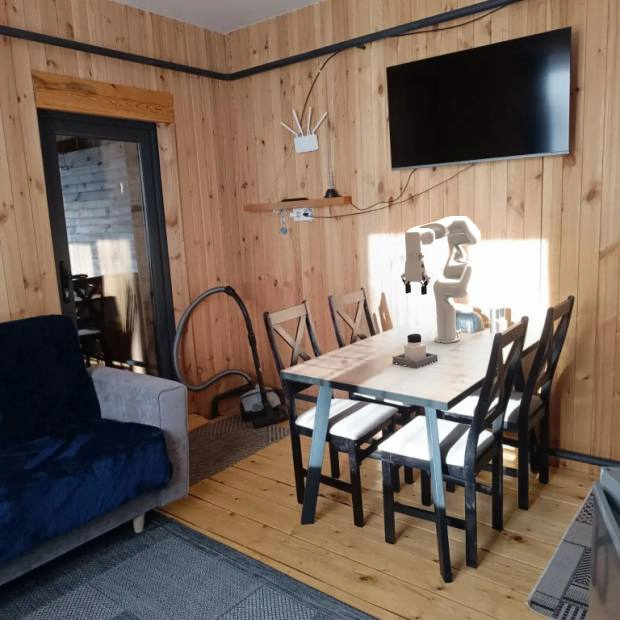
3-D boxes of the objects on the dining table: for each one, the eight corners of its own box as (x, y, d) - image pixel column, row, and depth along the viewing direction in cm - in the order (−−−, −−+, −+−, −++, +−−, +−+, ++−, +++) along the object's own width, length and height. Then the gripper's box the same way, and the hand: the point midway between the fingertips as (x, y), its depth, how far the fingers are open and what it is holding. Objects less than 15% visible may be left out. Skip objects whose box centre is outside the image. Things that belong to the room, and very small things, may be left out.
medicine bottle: (426, 360, 260) (425, 334, 258) (412, 363, 257) (411, 336, 255) (418, 357, 266) (417, 331, 264) (404, 359, 264) (403, 334, 262)
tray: (413, 356, 272) (413, 350, 271) (437, 361, 261) (437, 354, 260) (392, 363, 263) (392, 356, 263) (416, 368, 252) (416, 361, 252)
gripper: (434, 256, 266) (435, 293, 269) (405, 256, 279) (407, 291, 282) (423, 258, 261) (425, 296, 264) (395, 257, 275) (397, 293, 278)
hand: (416, 293), depth 273 cm, fingers open, 9 cm apart
